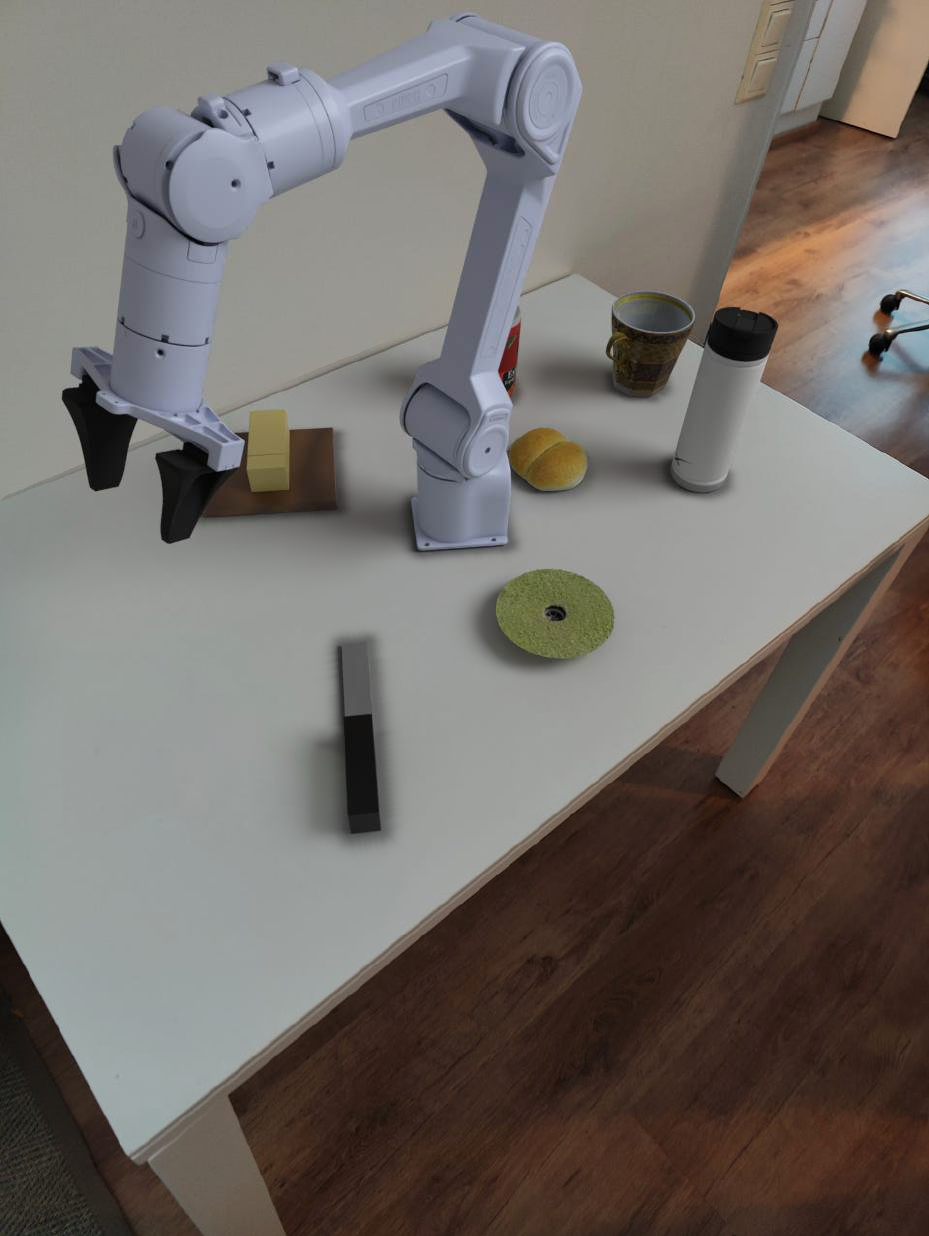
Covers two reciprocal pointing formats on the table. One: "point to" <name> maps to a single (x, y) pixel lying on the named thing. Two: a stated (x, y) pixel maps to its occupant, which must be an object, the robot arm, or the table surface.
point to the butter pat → (268, 473)
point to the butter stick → (268, 433)
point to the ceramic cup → (647, 340)
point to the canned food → (511, 355)
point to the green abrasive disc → (555, 613)
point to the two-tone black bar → (359, 741)
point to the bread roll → (548, 460)
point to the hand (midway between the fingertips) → (139, 512)
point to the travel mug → (722, 397)
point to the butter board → (306, 480)
